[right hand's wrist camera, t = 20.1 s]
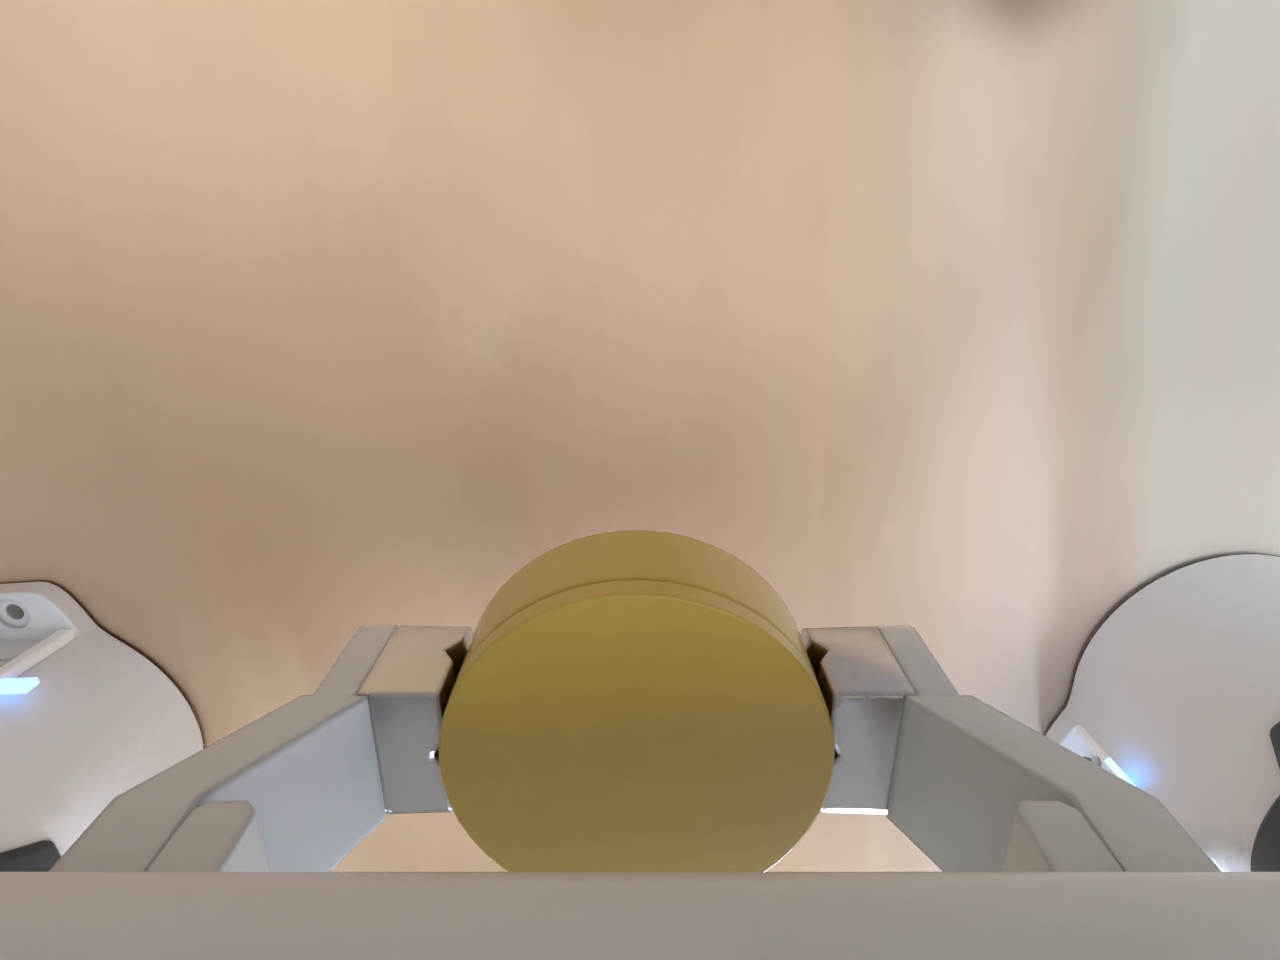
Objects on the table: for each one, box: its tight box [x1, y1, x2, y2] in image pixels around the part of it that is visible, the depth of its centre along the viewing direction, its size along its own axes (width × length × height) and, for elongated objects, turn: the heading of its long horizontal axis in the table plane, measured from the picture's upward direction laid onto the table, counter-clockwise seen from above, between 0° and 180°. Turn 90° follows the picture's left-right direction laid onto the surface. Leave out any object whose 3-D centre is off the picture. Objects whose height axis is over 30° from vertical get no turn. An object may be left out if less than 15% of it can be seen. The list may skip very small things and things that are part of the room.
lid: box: [439, 530, 835, 872], centre depth 9 cm, size 5×5×2 cm
